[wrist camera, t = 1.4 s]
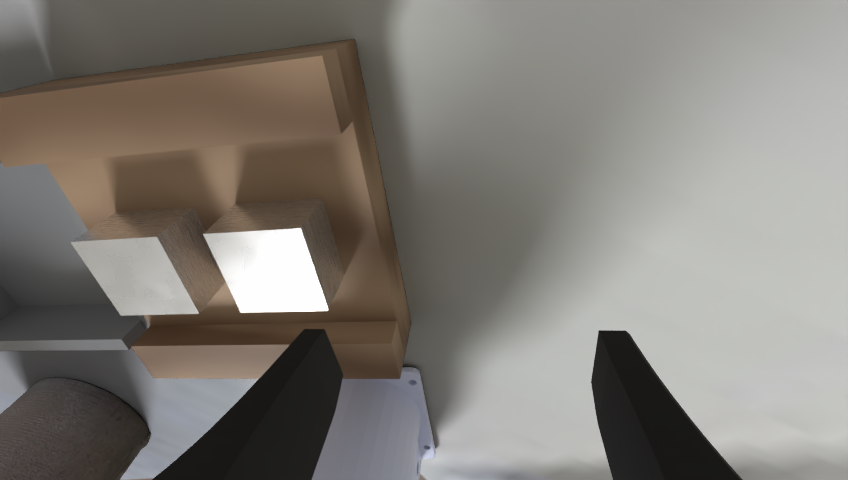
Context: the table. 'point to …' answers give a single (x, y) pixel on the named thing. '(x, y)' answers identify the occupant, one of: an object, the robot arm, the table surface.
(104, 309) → the tray
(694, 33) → the table surface
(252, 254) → the chip
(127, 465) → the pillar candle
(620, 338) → the robot arm
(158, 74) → the slot block
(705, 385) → the table surface
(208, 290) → the chip
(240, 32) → the table surface
